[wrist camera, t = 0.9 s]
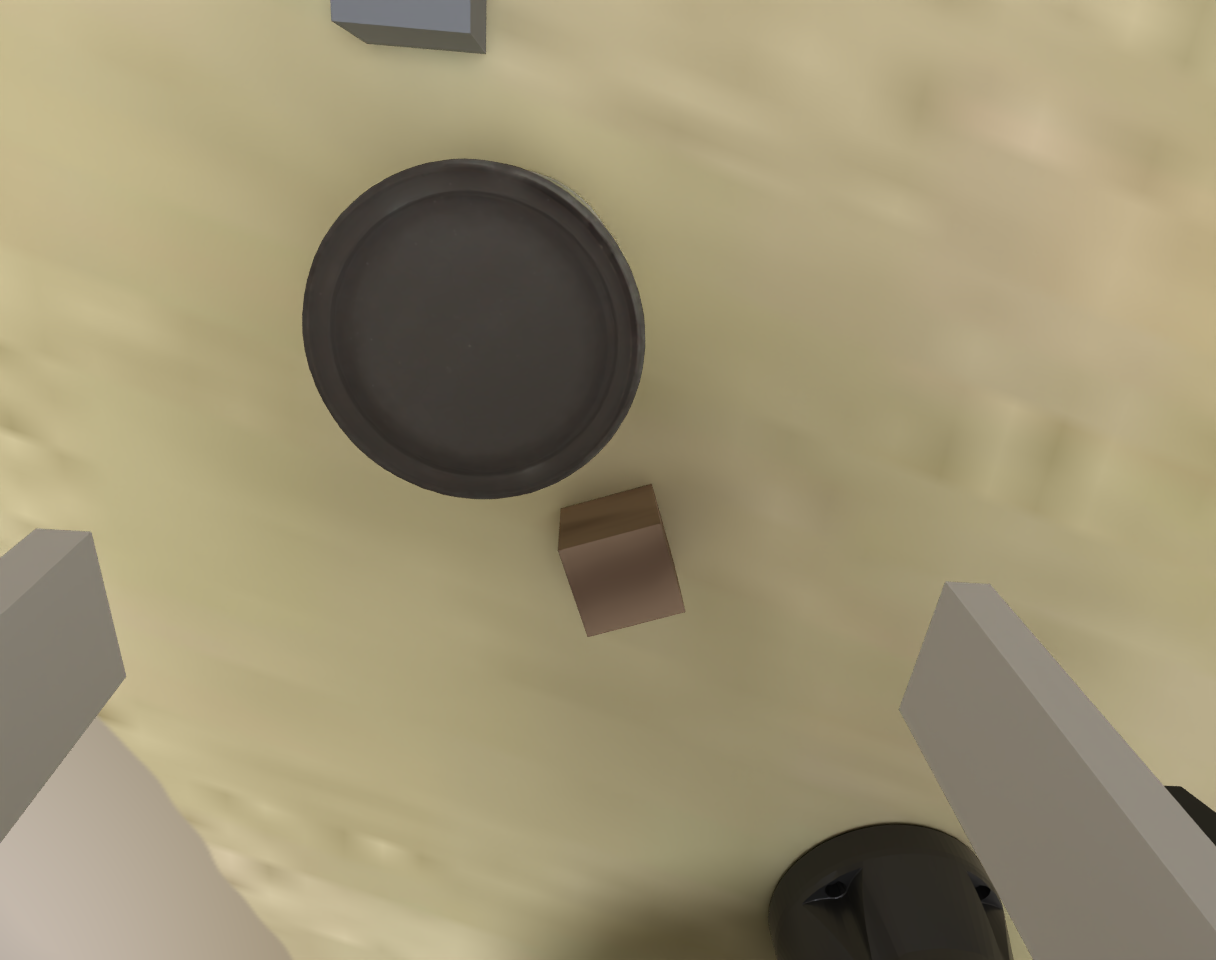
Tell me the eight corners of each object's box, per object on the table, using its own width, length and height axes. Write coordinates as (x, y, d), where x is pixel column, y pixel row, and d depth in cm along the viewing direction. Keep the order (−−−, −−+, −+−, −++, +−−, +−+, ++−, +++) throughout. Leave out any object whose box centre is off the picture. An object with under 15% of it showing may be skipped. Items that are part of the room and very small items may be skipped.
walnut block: (674, 563, 42) (685, 611, 37) (587, 586, 42) (587, 637, 38) (651, 483, 40) (660, 523, 35) (560, 507, 40) (557, 550, 36)
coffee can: (563, 423, 39) (552, 549, 25) (371, 330, 36) (253, 414, 23) (661, 236, 35) (708, 269, 22) (458, 121, 33) (377, 84, 20)
